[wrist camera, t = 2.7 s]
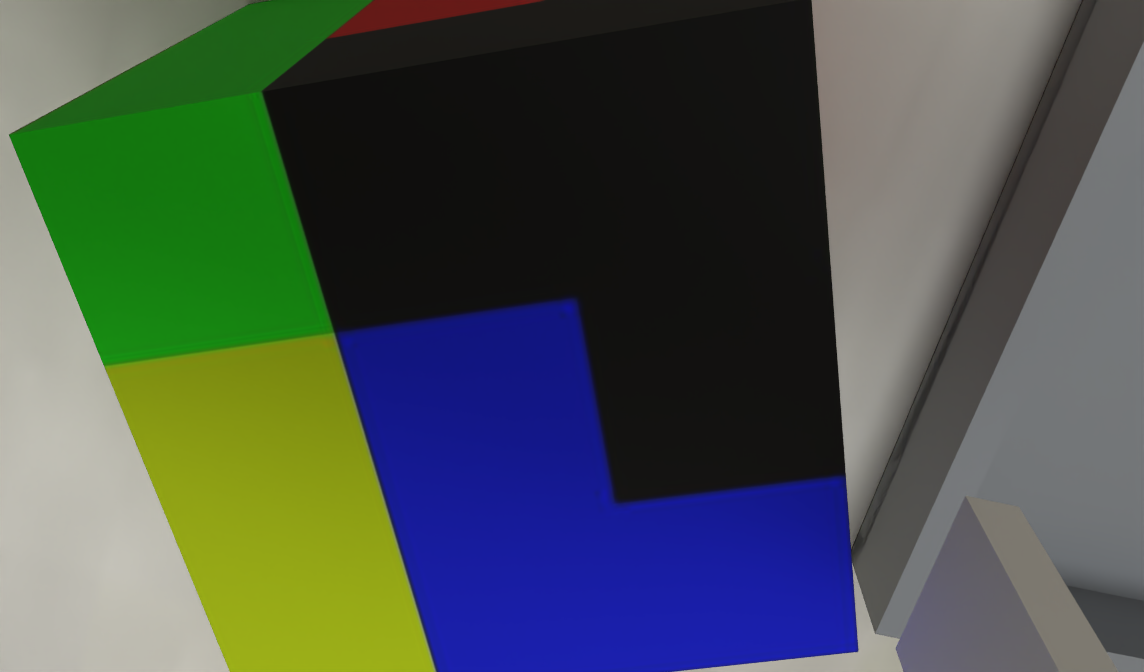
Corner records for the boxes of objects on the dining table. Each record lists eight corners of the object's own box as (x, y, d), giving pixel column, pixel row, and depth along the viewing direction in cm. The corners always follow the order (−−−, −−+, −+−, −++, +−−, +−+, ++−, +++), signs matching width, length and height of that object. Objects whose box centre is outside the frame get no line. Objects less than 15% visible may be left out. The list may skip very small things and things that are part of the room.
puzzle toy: (771, 357, 26) (858, 651, 17) (369, 412, 27) (248, 717, 18) (726, -82, 21) (810, -3, 12) (249, 4, 22) (8, 134, 13)
